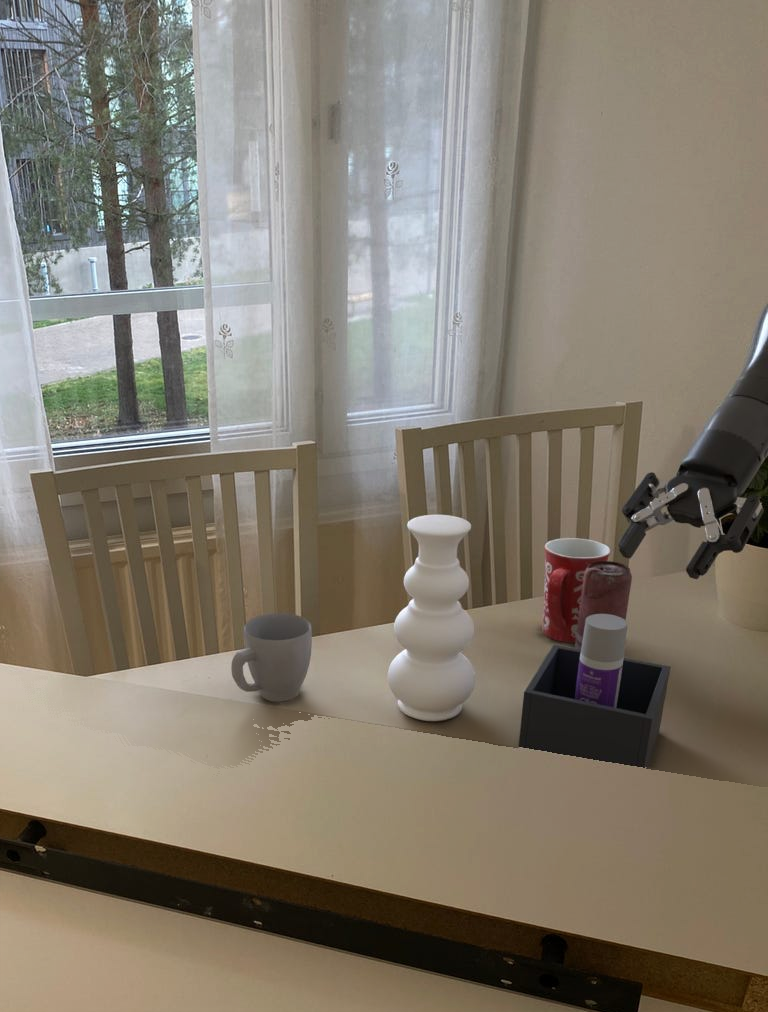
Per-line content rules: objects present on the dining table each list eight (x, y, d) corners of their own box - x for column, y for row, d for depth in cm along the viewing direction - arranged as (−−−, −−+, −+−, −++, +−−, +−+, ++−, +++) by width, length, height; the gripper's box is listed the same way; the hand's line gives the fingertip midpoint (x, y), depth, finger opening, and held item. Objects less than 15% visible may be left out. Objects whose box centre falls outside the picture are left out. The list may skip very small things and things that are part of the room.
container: (570, 745, 106) (585, 628, 100) (569, 725, 110) (583, 611, 104) (612, 750, 105) (630, 631, 99) (610, 729, 109) (627, 614, 103)
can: (563, 655, 129) (574, 563, 123) (600, 648, 131) (612, 556, 125) (590, 674, 124) (603, 578, 118) (628, 665, 126) (642, 571, 120)
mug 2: (551, 615, 142) (560, 533, 136) (608, 629, 137) (620, 544, 131) (514, 643, 133) (522, 557, 128) (574, 660, 128) (585, 570, 122)
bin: (659, 732, 110) (670, 666, 106) (640, 790, 99) (652, 719, 96) (546, 707, 116) (553, 644, 112) (517, 760, 105) (523, 691, 102)
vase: (372, 698, 119) (376, 514, 109) (445, 682, 123) (456, 503, 112) (411, 738, 110) (420, 542, 99) (489, 720, 114) (505, 529, 103)
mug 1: (282, 670, 127) (280, 607, 123) (326, 692, 121) (326, 626, 117) (214, 699, 120) (210, 633, 116) (257, 724, 114) (254, 655, 110)
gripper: (665, 418, 107) (591, 531, 105) (785, 438, 96) (705, 564, 95) (684, 455, 112) (614, 564, 110) (800, 478, 101) (724, 599, 100)
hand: (656, 564), depth 103 cm, fingers open, 8 cm apart
